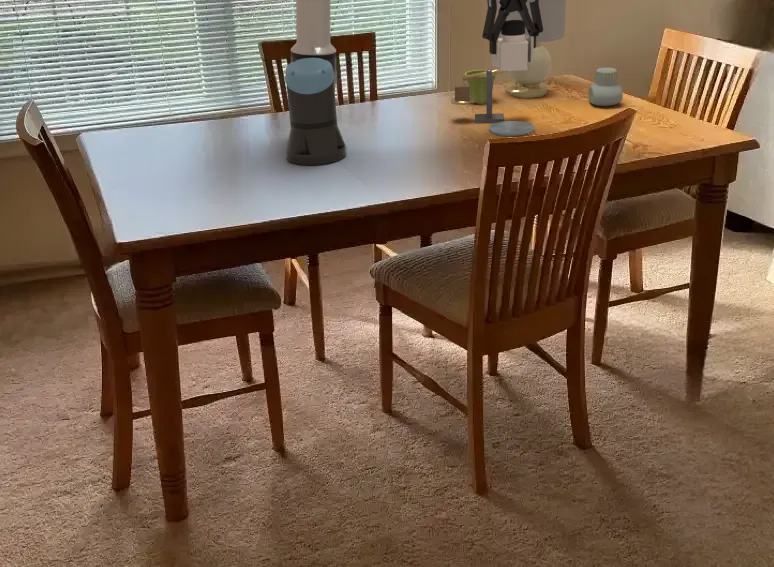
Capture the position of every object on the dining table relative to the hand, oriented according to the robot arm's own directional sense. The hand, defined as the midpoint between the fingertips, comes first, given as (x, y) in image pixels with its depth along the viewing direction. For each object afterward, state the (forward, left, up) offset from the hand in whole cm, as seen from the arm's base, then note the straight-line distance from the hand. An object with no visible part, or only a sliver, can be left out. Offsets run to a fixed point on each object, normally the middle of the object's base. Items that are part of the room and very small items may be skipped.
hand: (512, 64), depth 223 cm
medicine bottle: (0, 0, -1) cm, 1 cm away
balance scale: (0, +12, -18) cm, 21 cm away
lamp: (+25, +31, -18) cm, 44 cm away
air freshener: (+36, +8, -18) cm, 41 cm away
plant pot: (+8, +31, -18) cm, 37 cm away
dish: (0, 0, -18) cm, 18 cm away
